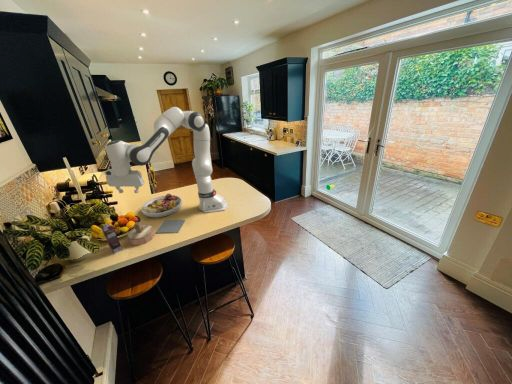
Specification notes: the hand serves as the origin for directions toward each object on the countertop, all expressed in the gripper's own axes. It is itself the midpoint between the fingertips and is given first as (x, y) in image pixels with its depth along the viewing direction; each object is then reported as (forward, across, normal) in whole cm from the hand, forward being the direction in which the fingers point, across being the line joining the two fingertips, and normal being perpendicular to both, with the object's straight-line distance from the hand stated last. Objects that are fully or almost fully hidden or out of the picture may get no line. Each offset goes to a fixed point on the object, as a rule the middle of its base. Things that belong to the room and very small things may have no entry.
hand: (129, 192), depth 125 cm
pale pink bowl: (+27, -1, +2) cm, 27 cm away
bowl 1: (+31, -1, +2) cm, 31 cm away
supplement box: (+32, +10, +12) cm, 35 cm away
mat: (+31, -14, -11) cm, 36 cm away
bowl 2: (+31, +3, -35) cm, 47 cm away
